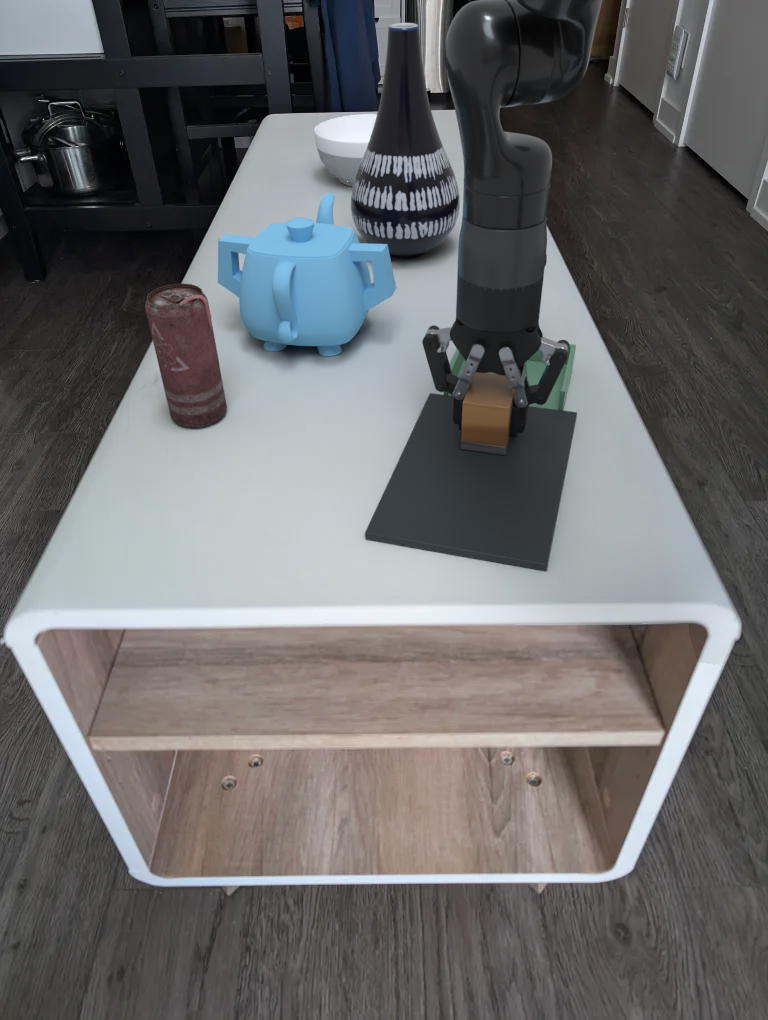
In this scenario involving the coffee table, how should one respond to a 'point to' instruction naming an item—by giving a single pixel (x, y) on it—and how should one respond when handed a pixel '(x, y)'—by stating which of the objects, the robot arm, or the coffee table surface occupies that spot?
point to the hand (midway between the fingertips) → (489, 429)
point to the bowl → (344, 144)
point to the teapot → (305, 281)
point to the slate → (477, 490)
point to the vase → (405, 161)
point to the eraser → (487, 414)
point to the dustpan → (534, 376)
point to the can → (186, 354)
